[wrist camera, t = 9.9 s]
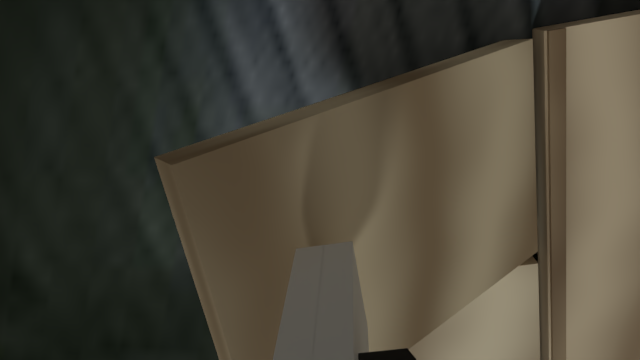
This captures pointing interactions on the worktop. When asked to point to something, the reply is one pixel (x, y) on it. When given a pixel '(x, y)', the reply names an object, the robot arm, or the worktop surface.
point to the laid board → (588, 187)
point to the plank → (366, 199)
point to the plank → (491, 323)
